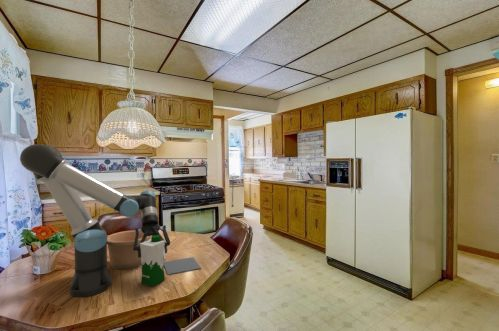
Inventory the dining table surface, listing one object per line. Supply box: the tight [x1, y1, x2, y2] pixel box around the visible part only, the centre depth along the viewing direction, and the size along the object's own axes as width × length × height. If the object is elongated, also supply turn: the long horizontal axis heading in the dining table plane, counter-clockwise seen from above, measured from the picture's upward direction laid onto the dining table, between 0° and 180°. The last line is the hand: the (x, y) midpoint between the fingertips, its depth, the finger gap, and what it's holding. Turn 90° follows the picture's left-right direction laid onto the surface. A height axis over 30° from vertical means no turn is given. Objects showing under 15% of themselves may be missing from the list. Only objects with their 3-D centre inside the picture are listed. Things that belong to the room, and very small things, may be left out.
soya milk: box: [140, 234, 166, 288], centre depth 113 cm, size 9×9×20 cm
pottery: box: [107, 229, 152, 270], centre depth 134 cm, size 22×22×14 cm
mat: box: [164, 256, 202, 276], centre depth 130 cm, size 16×16×1 cm
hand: (153, 261), depth 111 cm, fingers closed on soya milk, 8 cm apart
